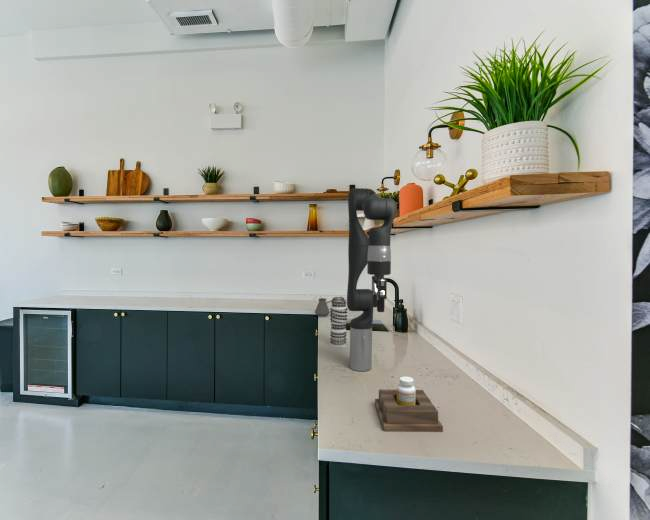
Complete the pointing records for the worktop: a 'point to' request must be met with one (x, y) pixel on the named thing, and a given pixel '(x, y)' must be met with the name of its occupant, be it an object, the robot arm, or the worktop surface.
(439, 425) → the bottle dock
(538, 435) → the worktop surface
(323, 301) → the coffee pot
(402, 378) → the supplement bottle
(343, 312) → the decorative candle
